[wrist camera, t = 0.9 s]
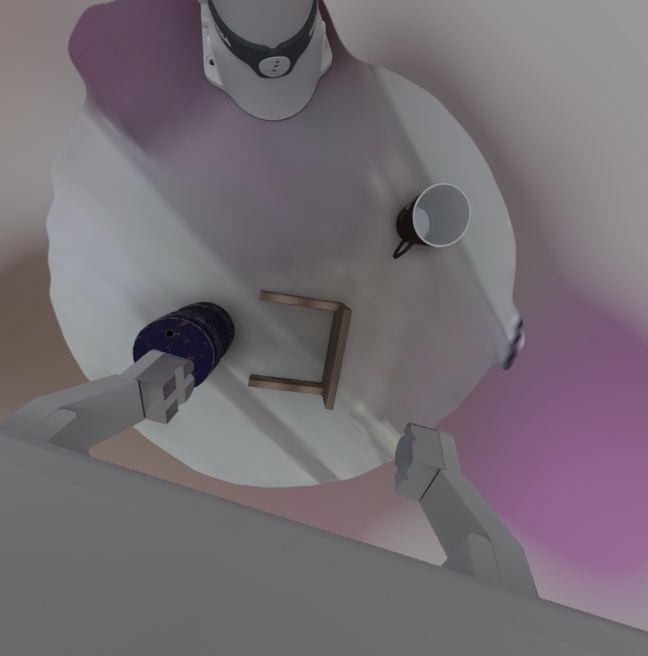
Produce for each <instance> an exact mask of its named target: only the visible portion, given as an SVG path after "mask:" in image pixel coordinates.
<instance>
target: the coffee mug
mask: <svg viewBox="0 0 648 656" xmlns="http://www.w3.org/2000/svg"><path fill="white" fill-rule="evenodd" d="M470 220H471V205H470V202H469V199H468V197H467V195H466V194H465V192H464V191H463V190H462V189H461V188H459V187H458V186H456V185H454V184H451V183H445V182H444V183H437V184H434V185H432V186H430V187H428V188H427V189H426V190H424V191H423V192H422V193H421V194H420V195H419V196H418V197H416V198H415V199H414V200H413V201H412V202H411V203H410V204H408V205H407V206H406V207H405V208H404V209H403V210H402V211H401V212H400V213H399V215H398V218H397V222H396V228H397V232H398V234H399V236H400V237H401V238H402V239H403V240H402V242H401V243H400V244H399V246H398V247H397V249H396V250H395V252H394V254H393V257H394V258H395V259H396V258H399V257H400V256H401V255H403V254H404V253H405V252H406V251H407V250H408V249H409V248H410V247H411V246H412V245H413V243H414V244H420V245H427V246H433V247H446V246H449V245H452V244H454V243H455V242H457V241H458V240H459V239H461V238H462V236H463V235H464V234H465V232H466V231H467V229H468V227H469V224H470ZM405 241H406V242H409V244H408V246H407V247H406V248H405V249H404V250H403V251H401V252H400V253H399V254H397V253H398V251H399V250H400V248H401V247H402V245H403V244H404V242H405Z"/></svg>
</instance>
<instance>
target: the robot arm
mask: <svg viewBox="0 0 648 656" xmlns="http://www.w3.org/2000/svg"><path fill="white" fill-rule="evenodd" d="M198 3H200V4H201V21H202V37H203V56H204V71H205V75H206V78H207V80H208V81H209V82H210V83H211V84H213V85H214V86H216V87H218V88H220V89H222V90H224V91H225V92H227V93H228V94H229V95H230V96H231V98H232V99H233V100H234V101H235V102H236V103H237V104H238V105H239V106H240V107H241V108H242V109H243V110H245V111H246V112H248V113H249V114H251V115H253V116H255V117H258V118H261V119H265V120H282V119H286V118H289V117H291V116H293V115H295V114H297V113H298V112H299V111H301V110H302V109H303V108H304V107H305V106H306V104H307V103H308V102H309V100H310V99H311V97H312V95H313V93H314V90H315V88H316V85H317V83H318V81H319V79H320V77H321V76H322V75H323V74H324V73H325V72H326V71H327V70H328V69H329V68H330V66H331V64H332V51H331V48H330V45H329V42H328V39H327V36H326V33H325V32H326V26H325V22H324V21H322V18H321V14H320V11H319V8H318V0H198ZM212 62H214V66H212V65H210V64H211V63H212ZM193 370H194V363H193V362H192V361H191V360H188V359H184V358H181V357H178V356H175V355H171V354H168V353H164V352H161V351H158V350H151V351H149V352H148V353H147V354H145V355H144V356H143V357H142V358H140V359H139V360H138V361H137V362H135V363H134V364H133V365H132V366H131V367H129V368H128V369H127V370H126V371H124V372H123V373H122V374H121V375H117V374H115V375H111V376H108V377H105V378H101V379H98V380H95V381H91V382H88V383H85V384H81V385H78V386H75V387H72V388H68V389H65V390H62V391H58V392H55V393H52V394H49V395H45V396H42V397H38V398H35V399H33V400H32V401H31V402H29V403H28V404H26V405H25V406H23V407H22V408H20V409H19V410H17V411H16V412H15V413H13V414H12V415H10V416H9V417H7V418H6V419H4V420H3V421H2V422H0V656H648V632H647V631H644V630H641V629H638V628H634V627H631V626H628V625H625V624H622V623H619V622H615V621H612V620H609V619H606V618H603V617H599V616H596V615H593V614H590V613H587V612H584V611H580V610H577V609H574V608H571V607H568V606H564V605H561V604H558V603H555V602H552V601H548V600H545V599H542V598H539V595H538V592H537V589H536V586H535V583H534V580H533V577H532V574H531V571H530V568H529V565H528V562H527V558H526V556H525V552H524V549H523V547H522V546H521V545H520V543H519V542H518V541H517V540H516V538H515V537H514V536H513V535H512V533H511V532H510V531H509V530H508V528H507V527H506V526H505V525H504V524H503V522H502V521H501V520H500V518H499V517H498V516H497V515H496V513H494V511H493V510H492V508H491V507H490V506H489V505H488V503H487V502H486V501H485V500H484V498H483V497H482V496H481V495H480V493H479V492H478V491H477V490H476V488H475V487H474V486H473V485H472V483H471V482H470V481H469V480H468V478H467V477H465V476H462V474H461V469H460V465H459V460H458V456H457V451H456V447H455V442H454V437H453V435H452V434H450V433H446V432H443V431H439V430H434V429H431V428H428V427H424V426H420V425H417V424H413V423H408V424H407V425H406V427H405V429H404V434H405V436H403V437H401V438H400V440H399V442H398V444H397V448H396V453H395V465H396V466H397V468H398V470H397V472H396V475H395V493H396V494H399V495H402V496H405V497H408V498H411V499H414V500H417V501H420V505H421V507H422V509H423V511H424V512H425V514H426V516H427V518H428V520H429V522H430V524H431V526H432V528H433V530H434V532H435V534H436V536H437V537H438V540H439V542H440V544H441V546H442V548H443V549H444V551H445V553H446V555H447V557H448V559H447V560H446V561H445V562H444V563H443V564H442V565H441V566H437V565H434V564H431V563H428V562H425V561H421V560H418V559H415V558H412V557H409V556H405V555H402V554H399V553H396V552H392V551H390V550H386V549H383V548H380V547H376V546H374V545H371V544H367V543H364V542H361V541H358V540H354V539H351V538H348V537H345V536H342V535H339V534H335V533H332V532H329V531H326V530H323V529H320V528H316V527H313V526H310V525H307V524H304V523H301V522H297V521H294V520H291V519H288V518H285V517H281V516H278V515H275V514H272V513H268V512H265V511H262V510H259V509H256V508H252V507H249V506H246V505H243V504H240V503H237V502H234V501H231V500H227V499H224V498H221V497H218V496H215V495H211V494H208V493H205V492H202V491H199V490H196V489H192V488H189V487H186V486H182V485H180V484H177V483H173V482H170V481H167V480H164V479H161V478H157V477H154V476H151V475H148V474H145V473H141V472H138V471H135V470H132V469H129V468H126V467H123V466H119V465H116V464H113V463H110V462H107V461H103V460H100V459H97V458H94V457H91V455H90V452H89V448H91V447H93V446H95V445H97V444H99V443H101V442H103V441H105V440H106V439H108V438H110V437H112V436H114V435H116V434H118V433H120V432H122V431H124V430H125V429H128V428H129V427H131V426H133V425H135V424H137V423H139V422H141V421H143V420H144V418H145V419H149V420H152V421H156V422H160V423H164V424H168V423H169V421H170V420H171V419H172V418H173V417H174V415H175V414H176V413H177V412H178V405H180V404H182V403H185V402H186V401H187V400H188V398H189V397H190V395H191V393H192V391H193V389H194V384H195V380H194V377H193V376H192V374H191V372H192V371H193Z"/></svg>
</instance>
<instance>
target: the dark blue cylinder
mask: <svg viewBox="0 0 648 656" xmlns="http://www.w3.org/2000/svg"><path fill="white" fill-rule="evenodd" d="M233 337H234V325H233V321H232V319H231V317H230V316H229V314H228V313H227V312H226V311H225V310H224V309H223V308H221V307H220V306H218V305H215V304H212V303H208V302H200V303H195V304H191V305H188V306H186V307H183V308H181V309H179V310H177V311H175V312H172V313H169V314H167V315H165V316H162V317H161V318H159V319H157V320H156V321H153V322H152V323H150V324H148V325H147V326H145V327H144V328H143V329H142V330H141V331H140V332H139V334H138V336H137V337H136V339H135V342H134V346H133V360H134V363H135V362H137V361H138V360H139V359H140V358H142V357H143V356H144V355H145V354H147V353H148V352H149V351H151V350H158V351H161V352H164V353H168V354H171V355H175V356H178V357H181V358H184V359H188V360H191V361H192V362H193V363H194V370H193V371H192V372H191V374H192V376H193V377H194V380H195V384H194V388H195V387H197V386H198V385H200V384H201V383H203V382H204V380H205V379H206V378H207V377H208V376H209V375H210V374H211V372H212V371H213V370H214V368H215V367H216V366H217V364H218V363H219V361H220V359H221V357H222V356H223V355H224V354H225V353H226V351H227V350H228V348H229V346H230V344H231V343H232V341H233Z"/></svg>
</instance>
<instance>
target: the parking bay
mask: <svg viewBox="0 0 648 656" xmlns="http://www.w3.org/2000/svg"><path fill="white" fill-rule="evenodd" d="M260 299H261V300H268V301H274V302H281V303H287V304H293V305H300V306H306V307H312V308H319V309H325V310H332V311H335V312H334V318H333V323H332V329H331V334H330V340H329V345H328V351H327V357H326V362H325V368H324V373H323V379H322V383H317V382H308V381H300V380H292V379H284V378H275V377H267V376H259V375H250V378H249V383H248V386H251V387H259V388H268V389H277V390H285V391H294V392H303V393H311V394H320V395H322V397H323V401H324V405H325V409H330V410H333V407H334V401H335V396H336V391H337V386H338V380H339V375H340V370H341V365H342V360H343V354H344V349H345V344H346V339H347V333H348V328H349V323H350V318H351V312H352V310H351V309H349V308H348V307H347V306H345V305H344V304H342V303H336V302H330V301H324V300H317V299H311V298H305V297H299V296H293V295H286V294H280V293H274V292H268V291H261V293H260Z"/></svg>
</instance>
